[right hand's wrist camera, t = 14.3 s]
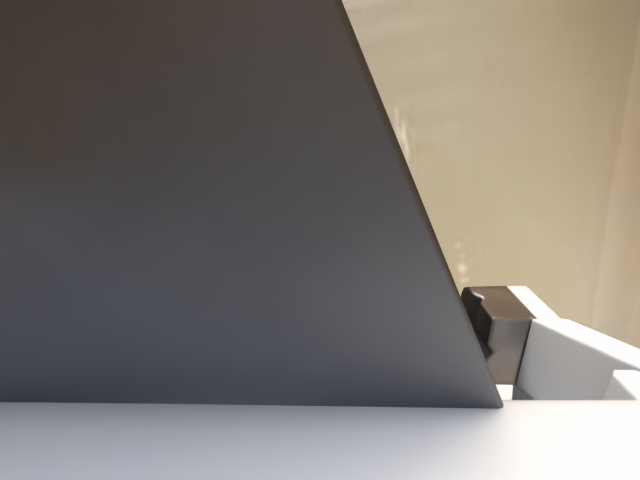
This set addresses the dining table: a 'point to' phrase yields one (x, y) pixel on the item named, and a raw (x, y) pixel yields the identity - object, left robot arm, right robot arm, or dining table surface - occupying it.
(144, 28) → the bar
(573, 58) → the dining table surface
